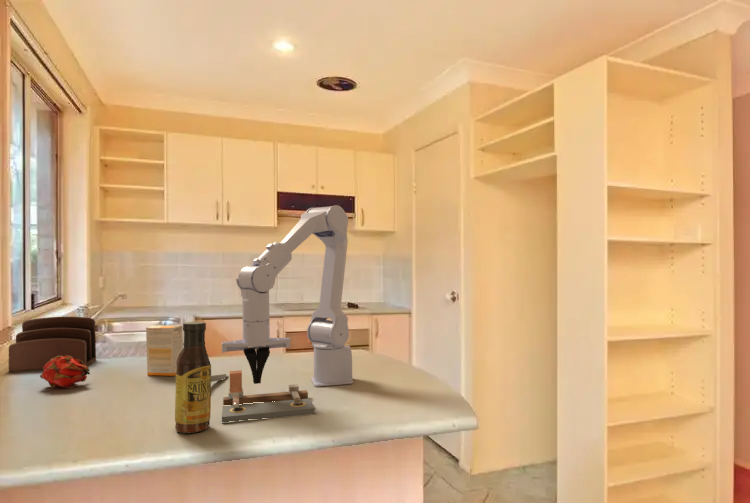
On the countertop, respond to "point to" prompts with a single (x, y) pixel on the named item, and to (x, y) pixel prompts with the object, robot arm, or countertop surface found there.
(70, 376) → the dragon fruit
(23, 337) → the letter holder
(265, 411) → the bolt plate
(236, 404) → the orange handled lever
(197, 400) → the sauce bottle
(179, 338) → the supplement box
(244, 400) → the rail
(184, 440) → the countertop surface
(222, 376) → the caliper
